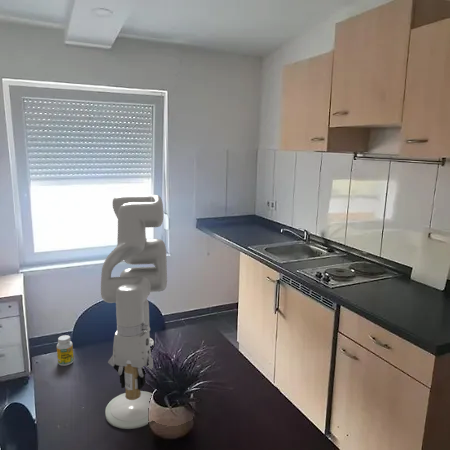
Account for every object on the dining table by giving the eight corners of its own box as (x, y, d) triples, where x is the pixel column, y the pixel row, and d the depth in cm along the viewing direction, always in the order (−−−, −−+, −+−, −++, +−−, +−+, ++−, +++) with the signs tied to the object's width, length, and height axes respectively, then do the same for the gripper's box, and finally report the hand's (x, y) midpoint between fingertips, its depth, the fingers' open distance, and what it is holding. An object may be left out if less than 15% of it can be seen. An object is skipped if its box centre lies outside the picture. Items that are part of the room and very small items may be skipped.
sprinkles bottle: (143, 397, 119) (142, 355, 117) (128, 402, 117) (126, 359, 114) (137, 389, 123) (136, 348, 120) (122, 394, 120) (121, 352, 118)
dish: (118, 392, 130) (118, 388, 129) (167, 397, 127) (167, 393, 127) (95, 425, 114) (95, 421, 114) (150, 431, 112) (150, 427, 112)
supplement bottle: (71, 357, 151) (69, 332, 149) (75, 363, 146) (74, 338, 145) (56, 361, 148) (54, 336, 146) (60, 367, 143) (58, 342, 142)
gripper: (163, 324, 118) (164, 381, 122) (108, 320, 121) (110, 376, 124) (155, 335, 111) (156, 396, 114) (96, 331, 113) (99, 390, 117)
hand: (132, 385), depth 119 cm, fingers closed on sprinkles bottle, 4 cm apart
